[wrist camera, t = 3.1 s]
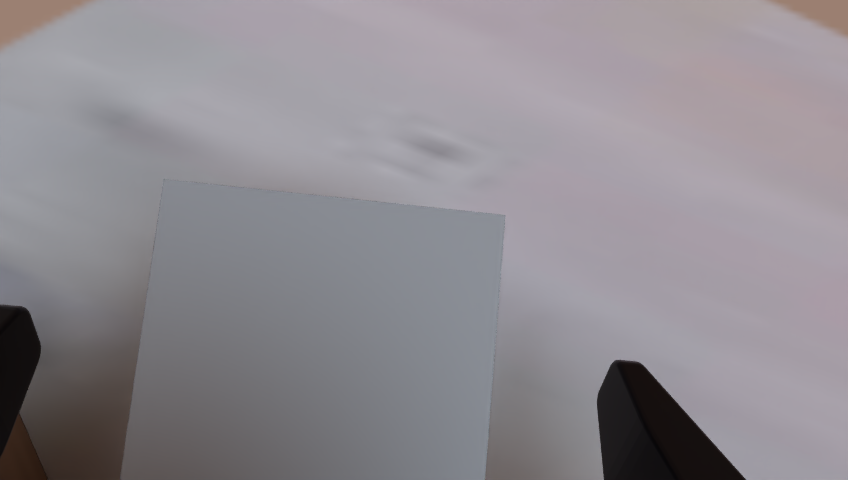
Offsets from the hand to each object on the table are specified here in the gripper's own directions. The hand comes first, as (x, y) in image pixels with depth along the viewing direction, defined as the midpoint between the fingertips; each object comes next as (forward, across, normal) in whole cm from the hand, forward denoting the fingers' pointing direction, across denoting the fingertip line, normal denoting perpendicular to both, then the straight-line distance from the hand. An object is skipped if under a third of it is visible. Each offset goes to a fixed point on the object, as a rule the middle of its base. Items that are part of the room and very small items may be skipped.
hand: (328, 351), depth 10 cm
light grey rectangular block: (+6, 0, +6) cm, 8 cm away
